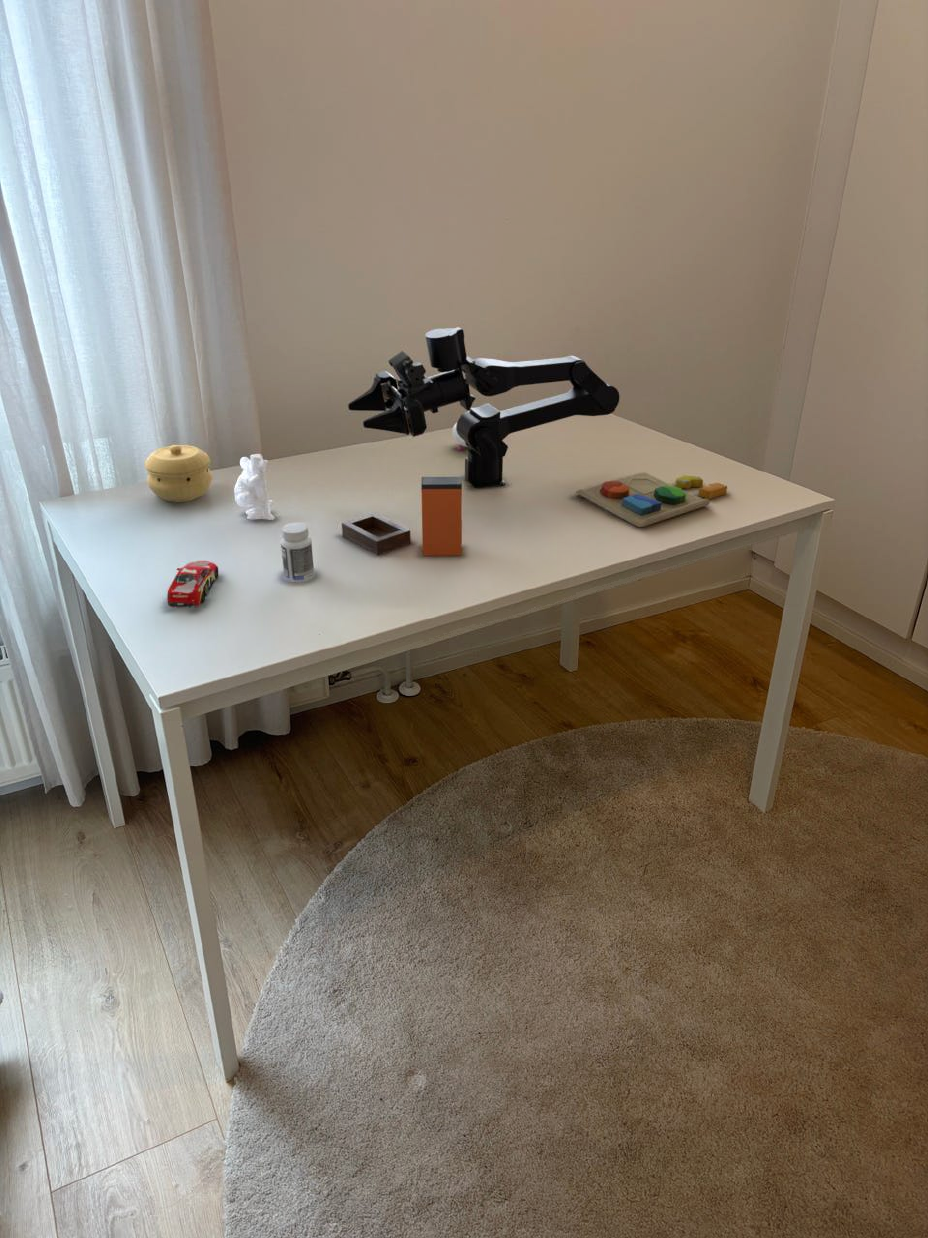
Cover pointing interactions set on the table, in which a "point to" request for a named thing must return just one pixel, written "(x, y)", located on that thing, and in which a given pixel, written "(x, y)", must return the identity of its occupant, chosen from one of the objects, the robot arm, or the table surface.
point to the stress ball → (458, 437)
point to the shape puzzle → (650, 497)
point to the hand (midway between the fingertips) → (355, 415)
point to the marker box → (441, 516)
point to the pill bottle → (297, 553)
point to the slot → (376, 533)
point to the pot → (178, 473)
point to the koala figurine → (253, 488)
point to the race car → (192, 584)
